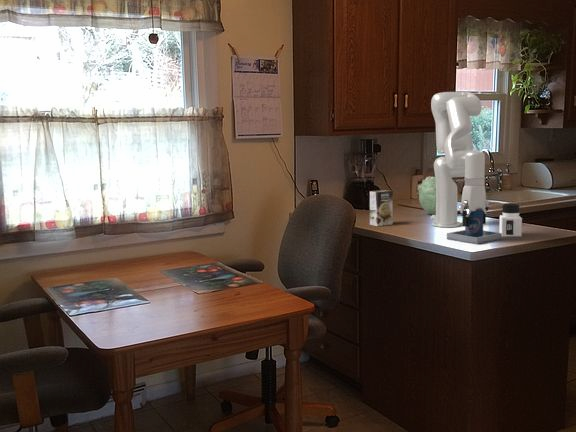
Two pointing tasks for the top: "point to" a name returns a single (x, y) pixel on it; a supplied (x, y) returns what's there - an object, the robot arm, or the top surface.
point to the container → (510, 220)
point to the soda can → (475, 224)
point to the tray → (485, 238)
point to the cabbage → (428, 195)
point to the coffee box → (381, 208)
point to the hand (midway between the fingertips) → (474, 225)
